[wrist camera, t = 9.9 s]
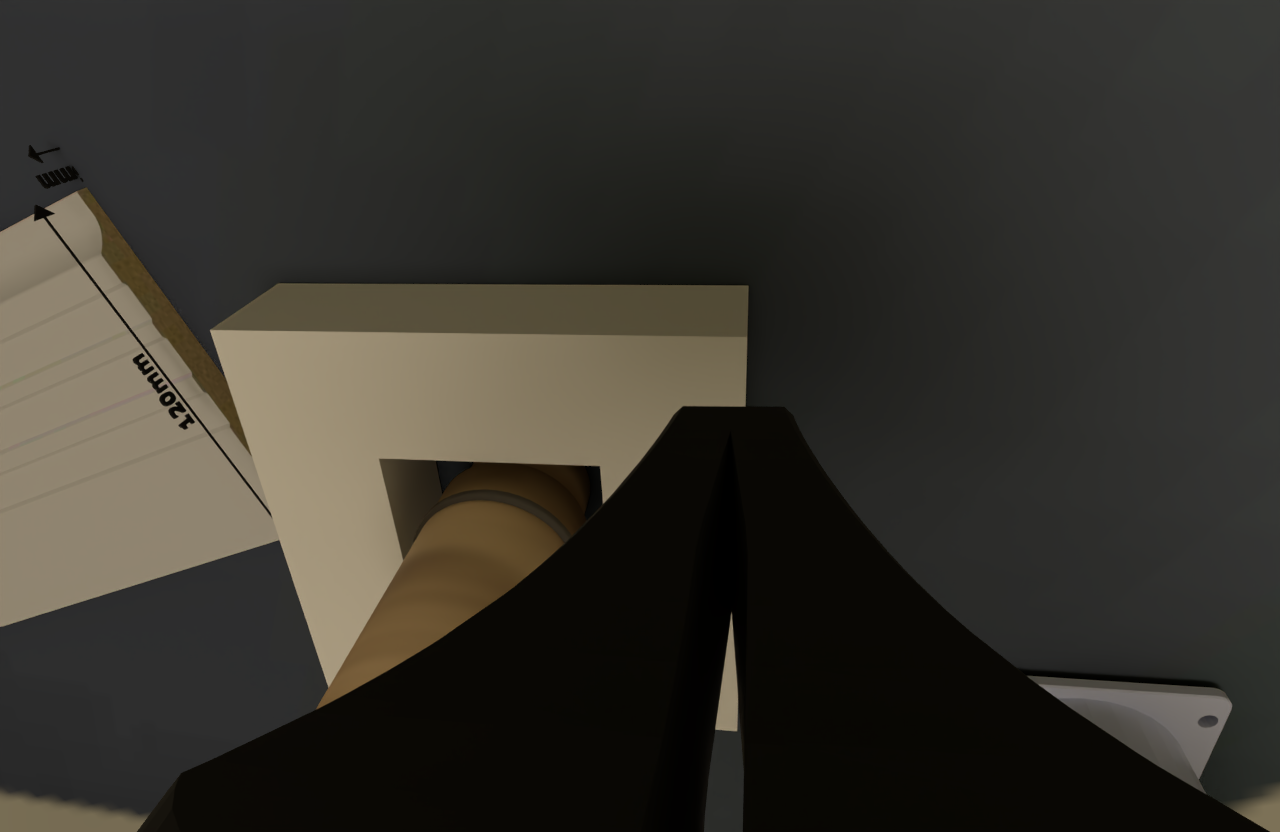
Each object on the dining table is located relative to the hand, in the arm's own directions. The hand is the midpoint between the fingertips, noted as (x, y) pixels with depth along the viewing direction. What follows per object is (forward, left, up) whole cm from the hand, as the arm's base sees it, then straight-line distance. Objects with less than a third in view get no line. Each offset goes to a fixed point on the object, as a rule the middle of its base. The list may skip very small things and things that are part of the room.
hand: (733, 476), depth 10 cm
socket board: (-7, +6, -10) cm, 14 cm away
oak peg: (-7, +6, -10) cm, 14 cm away
